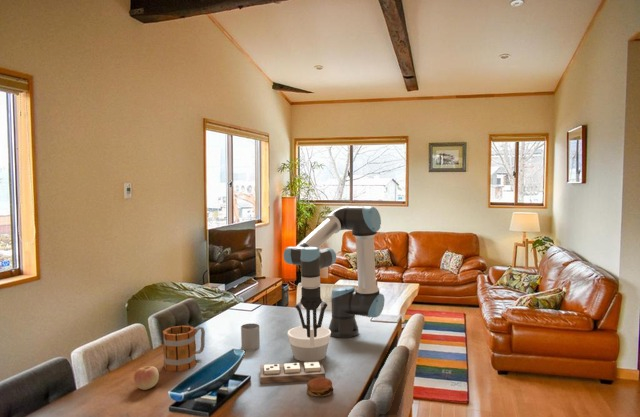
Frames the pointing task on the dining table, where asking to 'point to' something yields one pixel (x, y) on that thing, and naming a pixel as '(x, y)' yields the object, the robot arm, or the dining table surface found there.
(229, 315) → the dining table surface
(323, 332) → the bowl
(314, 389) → the burger
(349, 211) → the robot arm
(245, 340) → the cup
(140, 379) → the peach
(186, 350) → the mug
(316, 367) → the tile one
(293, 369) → the tile two
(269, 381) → the board
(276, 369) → the tile three
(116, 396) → the dining table surface
